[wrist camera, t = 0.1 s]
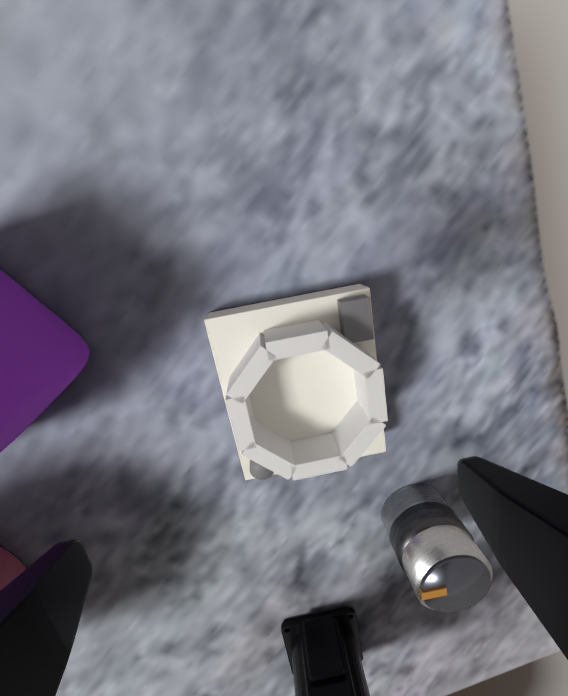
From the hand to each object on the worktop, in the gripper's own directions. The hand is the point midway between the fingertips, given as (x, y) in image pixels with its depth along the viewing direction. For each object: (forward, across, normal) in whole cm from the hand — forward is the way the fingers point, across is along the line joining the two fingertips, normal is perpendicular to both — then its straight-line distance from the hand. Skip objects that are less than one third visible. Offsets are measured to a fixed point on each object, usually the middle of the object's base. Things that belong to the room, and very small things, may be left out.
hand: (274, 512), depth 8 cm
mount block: (+15, -2, +3) cm, 15 cm away
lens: (+15, -9, +16) cm, 24 cm away
